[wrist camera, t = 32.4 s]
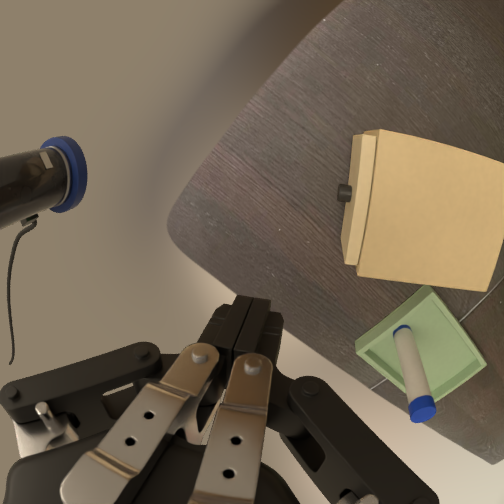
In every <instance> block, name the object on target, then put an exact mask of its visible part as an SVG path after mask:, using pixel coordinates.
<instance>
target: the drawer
mask: <svg viewBox="0 0 504 504" xmlns="http://www.w3.org/2000/svg"><path fill="white" fill-rule="evenodd" d="M376 140H377V137H376V136H371V135H365V134H361V135H353V142H352V153H351V163H350V172H349V181H348V185H344V184H339V187H338V195H337V200H338V201H342V202H346V205H345V212H344V219H343V226H342V232H341V244H342V249H343V255H344V262H345V264H349V265H358V261H359V256H360V251H361V246H362V241H363V239H364V234H365V228H366V223H367V217H368V211H369V204H370V197H371V190H372V183H373V175H374V167H375V158H376V148H377V145H376Z"/></svg>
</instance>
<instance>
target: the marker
mask: <svg viewBox="0 0 504 504" xmlns="http://www.w3.org/2000/svg"><path fill="white" fill-rule="evenodd" d="M393 338H394V341H395V345H396V349H397V353H398V357H399V361H400V365H401V369H402V374H403V378H404V383H405V388H406V393H407V398H408V403H409V407H408V408H409V414H410V420H411V421H412V422H414V423H421V422H424V421H427V420H429V419H430V418H432V417H433V416H434V415H435V413H436V406H435V403H434V399H433V397H432V395H431V391H430V388H429V384H428V380H427V377H426V374H425V370H424V367H423V364H422V361H421V357H420V354H419V351H418V348H417V345H416V342H415V339H414V336H413V334H412V330H411V328H410V326H408V325H400V326H399V327H398V328H397V329H395V330H394V332H393Z"/></svg>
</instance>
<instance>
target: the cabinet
mask: <svg viewBox="0 0 504 504" xmlns="http://www.w3.org/2000/svg"><path fill="white" fill-rule="evenodd" d="M364 134H365V135H371V136H376V137H377V140H376V145H377V148H376V158H375V167H374V175H373V183H372V190H371V197H370V204H369V211H368V217H367V223H366V228H365V234H364V239H363V241H362V246H361V251H360V256H359V261H358V265H355V267H356V271H357V275H358V276H361V277H369V278H377V279H384V280H392V281H400V282H408V283H416V284H424V285H432V286H440V287H448V288H456V289H465V290H473V291H481V292H486V291H487V288H488V285H489V283H490V280H491V277H492V274H493V271H494V268H495V265H496V262H497V259H498V256H499V253H500V249H501V246H502V242H503V239H504V163H501V162H498V161H496V160H493V159H490V158H487V157H484V156H481V155H478V154H475V153H472V152H469V151H466V150H463V149H460V148H456V147H453V146H449V145H446V144H442V143H439V142H435V141H431V140H427V139H423V138H419V137H415V136H410V135H406V134H401V133H397V132H392V131H387V130H382V129H379V130H372V131H364Z"/></svg>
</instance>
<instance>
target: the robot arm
mask: <svg viewBox="0 0 504 504" xmlns="http://www.w3.org/2000/svg"><path fill="white" fill-rule="evenodd" d="M72 181H73V176H72V168H71V164H70V161H69V158H68V156H67V154H66V153H65V152H64V150H63V149H61V148H60V147H58V146H49V147H45V148H42V149H37V150H31V151H27V152H22V153H18V154H13V155H9V156H5V157H1V158H0V230H1V229H3V228H6V227H8V226H10V225H12V224H14V223H16V222H19V221H21V224H22V226H25V225H28V224H30V223H32V224H31V225H30V226H28V227H26V228H25V229H23V230H22V231H21V232H20V233H19V234H18V235H17V237H16V239H15V241H14V244H13V247H12V252H11V257H10V261H9V267H8V277H7V301H8V314H9V322H10V331H11V339H12V358H11V361H10V362H9V365H11V364H12V362H13V359H14V353H15V348H14V335H13V327H12V317H11V306H10V280H11V270H12V264H13V260H14V255H15V251H16V247H17V244H18V242H19V240H20V238H21V236H22V235H24V234H25V233H27V232H29V231H30V230H32V229H34V227H36V225H37V220H36V219H37V218H38V217H39V216H38V214H37V213H39V212H42V211H44V210H47V209H49V208H52V207H56V206H59V205H61V204H63V203H64V202H65V201H66V200H67V199H68V197H69V195H70V192H71V189H72ZM270 307H271V300H268V299H261V298H254V297H248V296H242V295H237V296H236V298H235V300H234V302H233V304H232V305H229V304H223V305H221V306H220V307H219V308H217V309H216V310H215V312H214V313H213V315H212V318H211V319H210V320H209V323H208V324H207V326H206V327H205V329H204V331H203V333H202V334H201V336H200V338H199V340H198V341H197V343H194V344H191V345H189V346H187V347H185V348H184V349H183V351H182V352H181V353H180V354H160V350H159V348H158V347H157V346H156V345H155V344H153V343H150V342H138V343H135V344H131V345H129V346H126V347H123V348H120V349H117V350H114V351H111V352H108V353H105V354H102V355H99V356H96V357H92V358H89V359H86V360H83V361H80V362H77V363H74V364H70V365H67V366H64V367H61V368H57V369H54V370H51V371H47V372H44V373H41V374H37V375H34V376H30V377H26V378H23V379H19V380H16V381H12V382H10V383H7V384H6V385H5V386H3V388H2V389H1V391H0V404H1V405H2V406H3V408H4V409H5V410H6V412H7V413H8V414H9V416H10V418H11V419H12V421H13V422H14V427H15V433H16V439H17V443H18V448H19V453H20V457H21V459H19V460H18V461H17V462H15V463H14V464H13V466H12V467H11V469H10V470H9V473H8V476H7V483H6V492H5V498H4V502H3V504H300V503H299V501H298V500H297V498H296V497H295V495H294V494H293V492H292V491H291V489H290V488H289V486H288V484H287V483H286V482H285V480H284V479H283V478H282V477H281V476H280V475H279V474H278V473H277V472H276V471H275V470H273V469H272V468H271V467H269V466H268V465H266V464H264V463H262V462H261V456H262V449H263V442H264V435H265V428H266V427H269V428H270V429H273V430H275V431H277V432H279V434H280V437H281V439H282V440H283V442H284V443H285V445H286V446H287V447H288V449H289V450H290V452H291V453H292V454H293V456H294V457H295V458H296V460H297V461H298V462H299V464H300V465H301V467H302V468H303V469H304V470H305V472H306V473H307V474H308V476H309V477H310V478H311V479H312V481H313V482H314V484H315V485H316V486H317V487H318V489H319V490H320V491H321V492H322V494H323V495H324V496H325V497H326V498H327V500H328V501H329V502H330V503H331V504H439V499H438V496H437V495H436V493H435V492H434V491H433V490H432V489H431V488H430V487H429V486H428V485H426V483H424V482H423V481H422V480H421V479H420V478H419V477H418V476H417V475H416V474H415V473H414V472H413V471H412V470H411V469H410V468H409V467H408V466H407V465H406V464H405V463H404V462H403V461H402V460H401V459H400V458H399V457H398V456H397V455H396V454H395V453H394V452H393V451H392V450H391V449H390V448H389V447H387V445H386V444H385V443H384V442H383V441H382V440H380V439H379V437H378V436H377V435H376V434H375V433H374V432H373V431H372V430H371V429H370V428H369V427H368V426H367V425H366V424H365V423H364V422H363V421H362V420H361V419H360V418H359V417H358V416H357V415H356V414H355V413H354V412H353V410H352V409H351V408H350V407H349V406H348V405H347V404H346V403H345V402H344V401H343V400H342V399H341V398H340V397H339V396H338V395H337V394H336V393H335V392H334V391H333V389H332V388H331V387H330V386H329V385H328V384H327V383H326V382H325V381H323V380H322V379H320V378H317V377H314V376H303V377H299V378H297V379H296V380H293V379H291V378H289V377H286V376H285V375H283V374H282V373H281V372H280V371H279V370H278V369H277V367H276V364H277V358H278V354H279V349H280V344H281V337H282V330H283V323H284V319H283V317H282V315H281V313H279V312H272V311H270ZM130 383H133V386H132V387H129V388H127V389H124V390H121V391H118V392H115V393H113V394H110V395H106V396H103V394H104V393H105V392H107V391H110V390H113V389H116V388H119V387H121V386H124V385H127V384H130ZM224 389H226V392H225V395H224V399H223V402H222V403H220V401H221V396H222V393H223V391H224ZM215 413H216V415H215ZM214 415H215V418H214V421H213V425H212V428H211V432H210V435H209V439H208V442H207V445H201V442H202V439H203V436H204V434H205V432H206V431H207V428H208V427H209V425H210V423H211V421H212V419H213V417H214Z"/></svg>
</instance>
